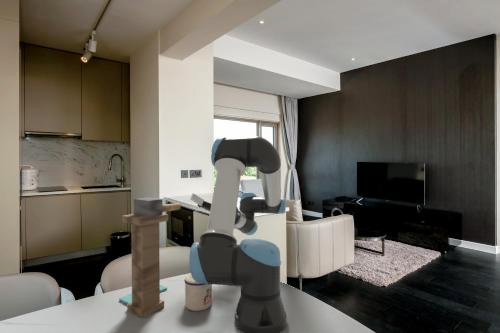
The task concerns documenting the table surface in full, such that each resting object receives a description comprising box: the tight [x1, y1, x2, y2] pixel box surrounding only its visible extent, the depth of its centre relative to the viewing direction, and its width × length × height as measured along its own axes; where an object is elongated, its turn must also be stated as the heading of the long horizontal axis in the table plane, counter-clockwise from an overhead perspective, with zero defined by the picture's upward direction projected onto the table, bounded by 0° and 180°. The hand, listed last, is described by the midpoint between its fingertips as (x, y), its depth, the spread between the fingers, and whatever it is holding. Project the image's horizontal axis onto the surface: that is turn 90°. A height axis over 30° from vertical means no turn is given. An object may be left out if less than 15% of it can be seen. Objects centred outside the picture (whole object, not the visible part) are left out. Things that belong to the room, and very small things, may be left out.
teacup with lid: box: [184, 273, 213, 312], centre depth 99 cm, size 12×9×12 cm
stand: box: [121, 212, 169, 318], centre depth 95 cm, size 10×10×30 cm
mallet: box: [133, 196, 182, 217], centre depth 99 cm, size 15×8×5 cm, turn 144°
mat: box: [119, 284, 168, 305], centre depth 105 cm, size 6×15×1 cm, turn 144°
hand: (204, 197), depth 117 cm, fingers open, 13 cm apart
